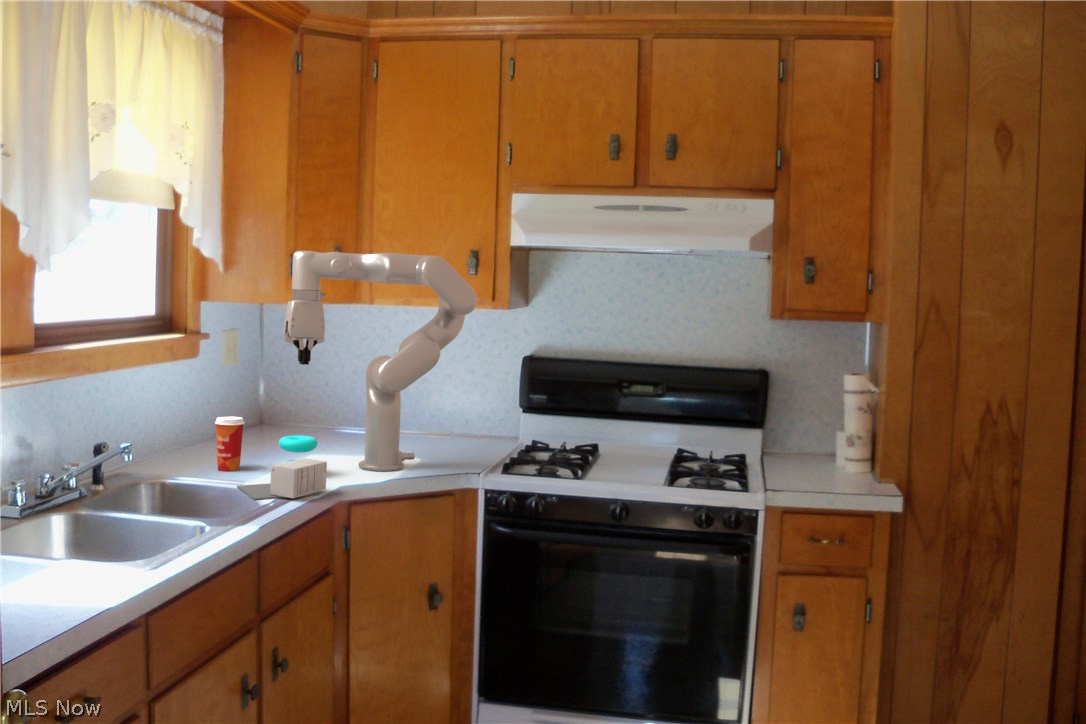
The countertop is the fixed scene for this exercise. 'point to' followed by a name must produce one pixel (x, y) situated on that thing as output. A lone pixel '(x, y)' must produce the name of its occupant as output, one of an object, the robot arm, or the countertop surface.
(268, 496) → the mat
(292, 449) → the donuts
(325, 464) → the supplement box
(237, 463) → the paper cup
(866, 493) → the countertop surface
